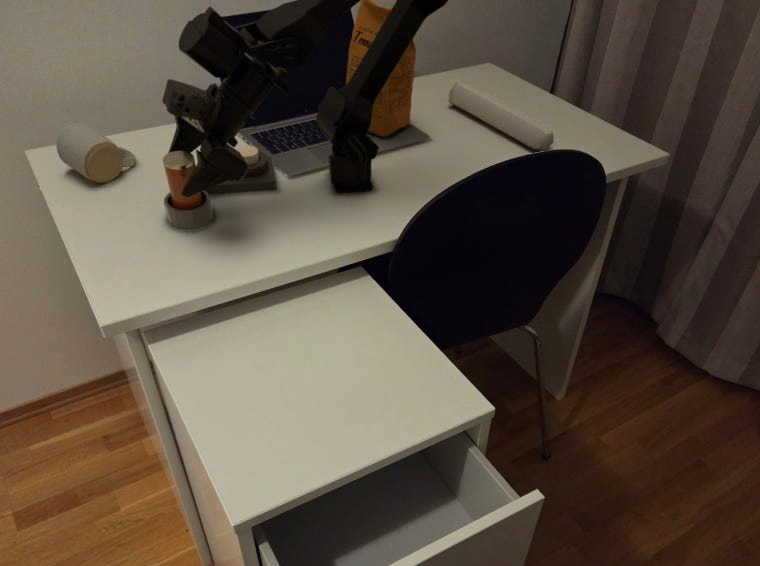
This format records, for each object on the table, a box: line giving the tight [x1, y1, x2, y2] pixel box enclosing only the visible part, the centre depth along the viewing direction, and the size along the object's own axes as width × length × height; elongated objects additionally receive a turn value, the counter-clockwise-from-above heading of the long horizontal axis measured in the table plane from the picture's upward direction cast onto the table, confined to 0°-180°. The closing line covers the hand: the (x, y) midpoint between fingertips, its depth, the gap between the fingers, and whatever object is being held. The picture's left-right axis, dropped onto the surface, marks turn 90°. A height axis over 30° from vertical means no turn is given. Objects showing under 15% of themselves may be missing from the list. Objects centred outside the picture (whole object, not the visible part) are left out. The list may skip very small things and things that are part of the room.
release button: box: [236, 145, 259, 165], centre depth 107 cm, size 4×4×2 cm
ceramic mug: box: [56, 122, 136, 184], centre depth 105 cm, size 11×8×8 cm
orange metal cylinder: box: [162, 151, 203, 210], centre depth 97 cm, size 4×4×10 cm
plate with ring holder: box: [205, 149, 277, 195], centre depth 107 cm, size 12×8×4 cm
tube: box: [447, 79, 555, 153], centre depth 126 cm, size 5×5×25 cm
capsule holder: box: [163, 190, 214, 230], centre depth 99 cm, size 7×7×4 cm
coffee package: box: [345, 0, 417, 138], centre depth 118 cm, size 10×12×22 cm
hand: (175, 179), depth 95 cm, fingers open, 9 cm apart
